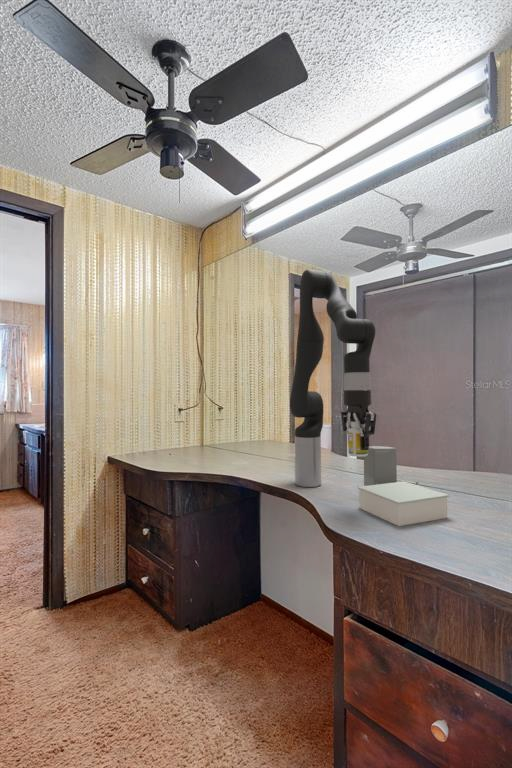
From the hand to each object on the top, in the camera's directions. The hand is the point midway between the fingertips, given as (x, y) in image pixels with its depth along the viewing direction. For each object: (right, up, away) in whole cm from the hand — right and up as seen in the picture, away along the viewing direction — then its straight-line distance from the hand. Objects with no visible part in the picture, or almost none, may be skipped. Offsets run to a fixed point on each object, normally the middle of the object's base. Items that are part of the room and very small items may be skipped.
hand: (358, 448), depth 111 cm
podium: (+11, -17, -3) cm, 21 cm away
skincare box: (+10, -18, +12) cm, 24 cm away
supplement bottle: (0, -2, 0) cm, 2 cm away
